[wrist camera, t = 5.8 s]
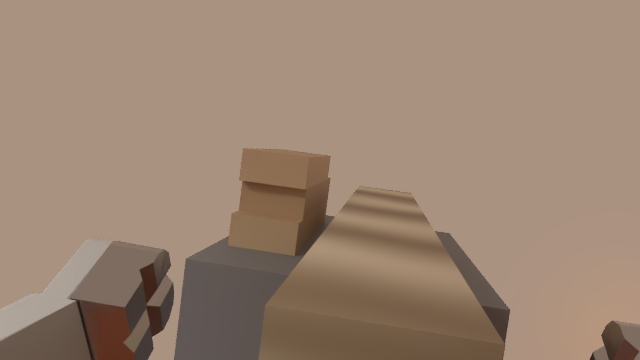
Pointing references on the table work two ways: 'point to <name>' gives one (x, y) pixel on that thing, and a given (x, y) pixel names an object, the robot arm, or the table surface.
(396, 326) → the birch strip
